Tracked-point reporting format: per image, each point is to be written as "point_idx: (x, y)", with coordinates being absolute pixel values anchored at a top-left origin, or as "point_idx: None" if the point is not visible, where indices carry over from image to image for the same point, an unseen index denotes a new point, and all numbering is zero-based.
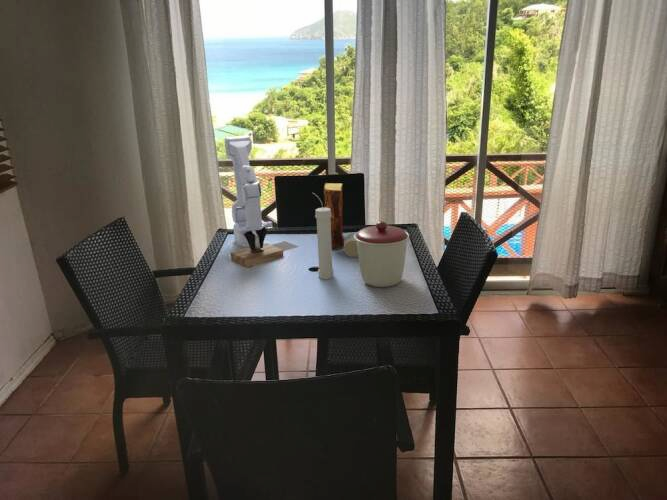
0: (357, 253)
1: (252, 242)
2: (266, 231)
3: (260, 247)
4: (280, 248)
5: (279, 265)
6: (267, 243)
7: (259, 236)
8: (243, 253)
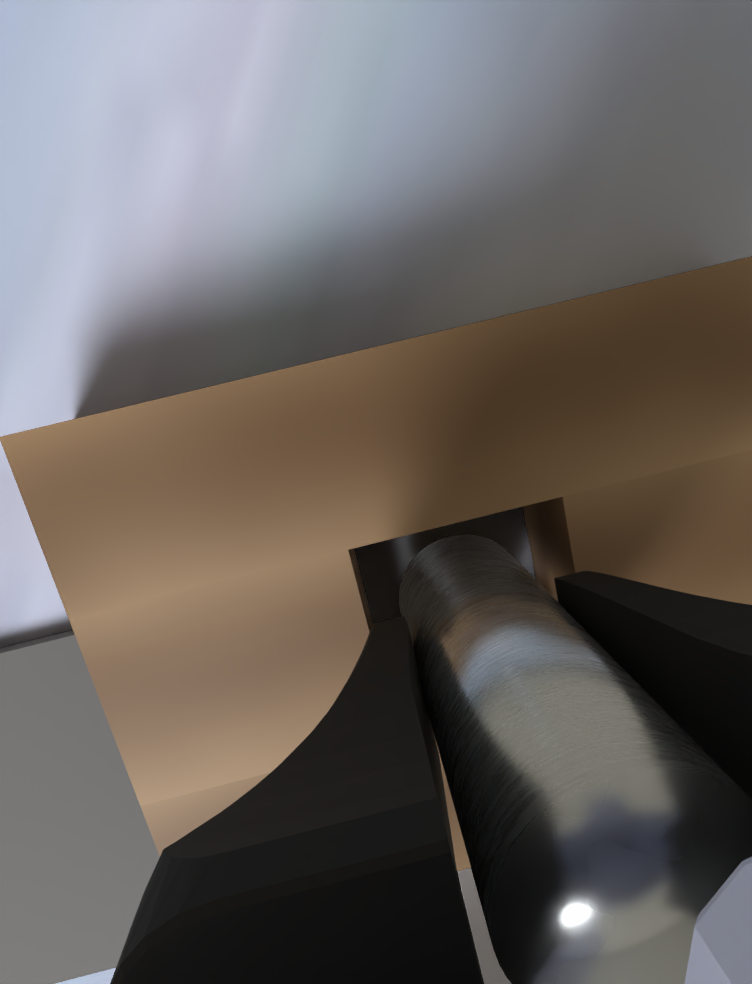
0: None
1: (725, 609)
2: (203, 865)
3: (425, 620)
4: (12, 776)
5: (251, 71)
6: None
7: (498, 790)
8: None
